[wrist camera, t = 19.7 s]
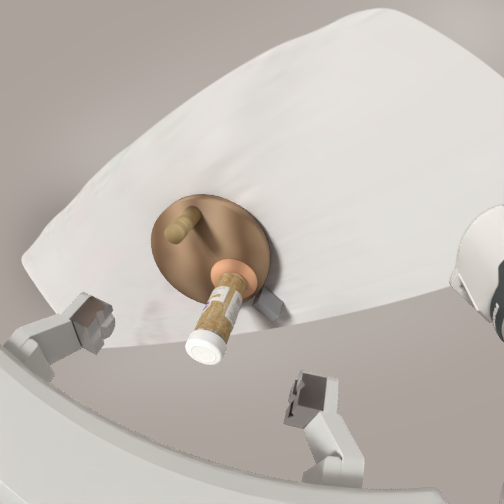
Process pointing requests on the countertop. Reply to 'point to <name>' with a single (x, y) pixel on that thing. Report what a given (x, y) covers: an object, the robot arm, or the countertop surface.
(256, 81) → the countertop surface
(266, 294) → the grey polygonal block
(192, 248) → the wooden peg stand
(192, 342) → the sprinkles bottle
